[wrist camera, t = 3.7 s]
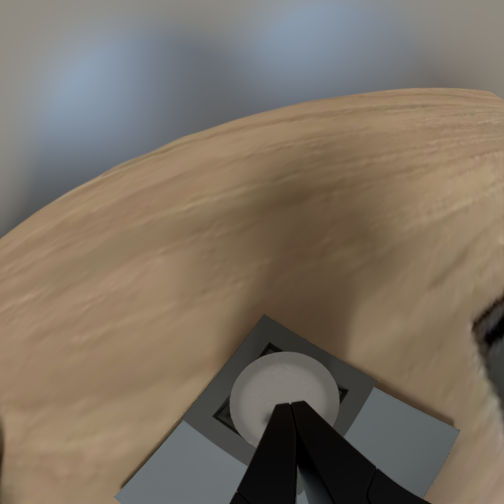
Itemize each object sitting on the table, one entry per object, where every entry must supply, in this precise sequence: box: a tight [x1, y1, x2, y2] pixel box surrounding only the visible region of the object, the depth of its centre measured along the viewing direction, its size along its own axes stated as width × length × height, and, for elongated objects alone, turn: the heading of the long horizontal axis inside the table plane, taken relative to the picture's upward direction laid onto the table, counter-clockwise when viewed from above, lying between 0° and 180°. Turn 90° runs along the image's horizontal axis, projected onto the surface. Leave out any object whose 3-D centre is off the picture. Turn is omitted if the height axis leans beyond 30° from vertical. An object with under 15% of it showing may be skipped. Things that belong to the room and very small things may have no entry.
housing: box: [182, 314, 377, 495], centre depth 15 cm, size 7×7×7 cm
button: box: [230, 352, 340, 448], centre depth 12 cm, size 4×4×6 cm
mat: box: [115, 387, 460, 504], centre depth 14 cm, size 20×20×1 cm
